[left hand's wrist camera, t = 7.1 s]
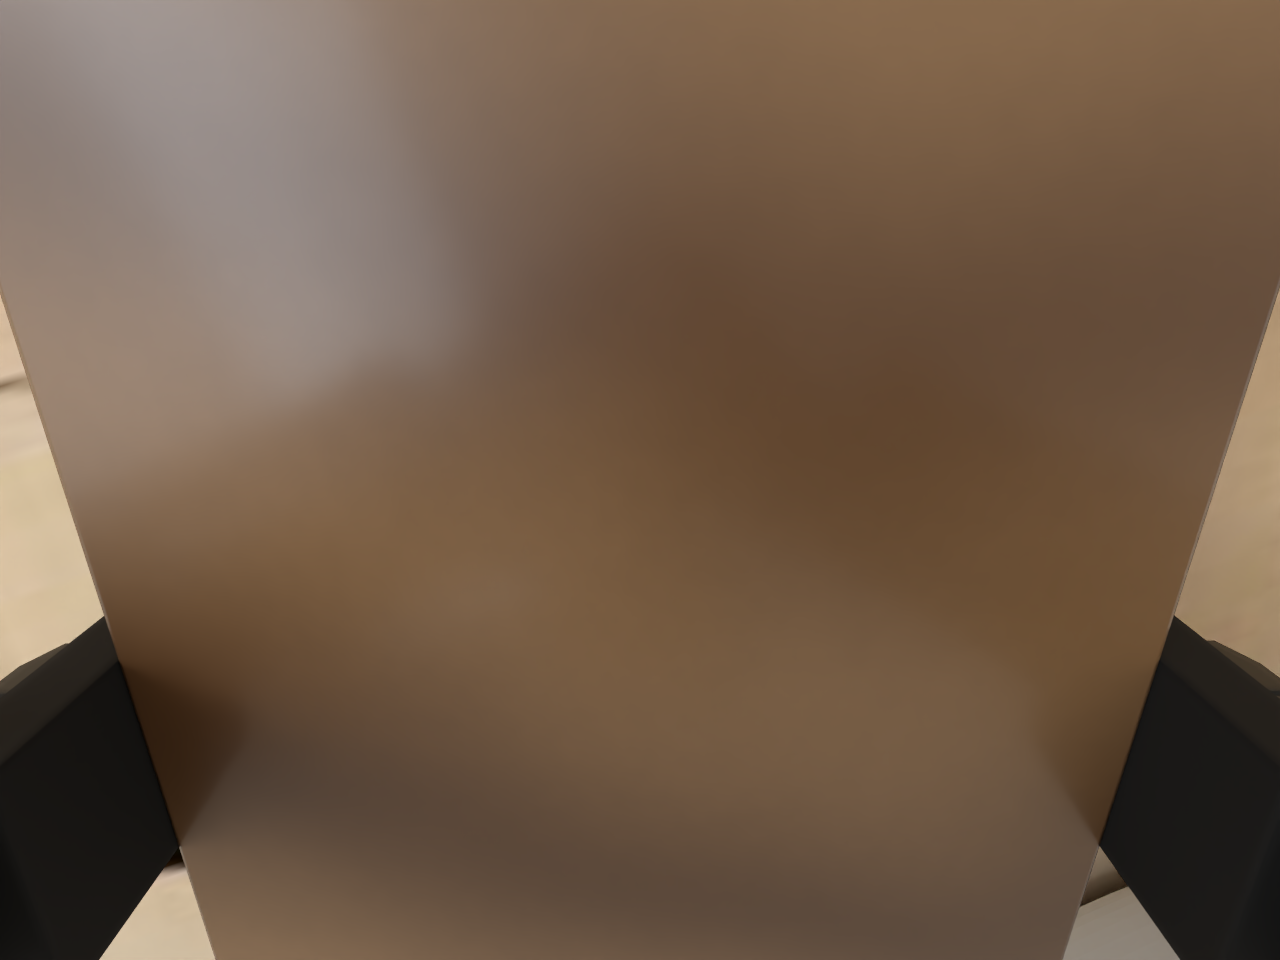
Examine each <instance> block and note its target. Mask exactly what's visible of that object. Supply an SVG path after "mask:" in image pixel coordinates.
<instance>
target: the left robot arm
mask: <svg viewBox="0 0 1280 960" xmlns="http://www.w3.org/2000/svg"><path fill="white" fill-rule="evenodd" d="M178 847H179V845H178V842H177V839H176V836H175V832H174V829H173V826H172V823H171V820H170V817H169V814H168V811H167V808H166V805H165V802H164V798H163V795H162V792H161V789H160V786H159V783H158V780H157V777H156V774H155V771H154V768H153V764H152V761H151V758H150V755H149V752H148V749H147V746H146V743H145V740H144V737H143V734H142V730H141V727H140V724H139V721H138V718H137V715H136V712H135V709H134V706H133V703H132V700H131V696H130V693H129V690H128V687H127V684H126V681H125V678H124V675H123V672H122V669H121V666H120V662H119V659H118V656H117V653H116V650H115V647H114V644H113V641H112V638H111V635H110V632H109V628H108V625H107V622H106V619H105V616H104V617H102V618H101V619H100V620H98V621H97V622H96V623H95V624H93V625H92V626H91V627H90V628H88V629H87V630H86V631H84V632H83V633H82V634H81V635H79V636H78V637H77V638H76V639H74V640H73V641H72V642H70V643H69V644H64V645H62V646H60V647H58V648H56V649H54V650H52V651H50V652H48V653H46V654H44V655H42V656H40V657H38V658H36V659H34V660H32V661H30V662H27V663H25V664H23V665H21V666H19V667H18V668H17V669H15V670H14V671H13V672H11V673H10V674H9V675H8V676H6V677H5V678H4V679H2V680H1V681H0V960H99V959H100V958H101V956H102V955H103V953H104V952H105V951H106V949H107V948H108V946H109V945H110V943H111V942H112V941H113V939H114V938H115V936H116V935H117V934H118V932H119V931H120V929H121V928H122V927H123V925H124V924H125V922H126V921H127V919H128V918H129V917H130V915H131V914H132V912H133V911H134V910H135V908H136V907H137V905H138V904H139V902H140V901H141V900H142V898H143V897H144V895H145V894H146V893H147V891H148V890H149V888H150V887H151V885H152V884H153V883H154V881H155V880H156V878H157V877H158V876H159V874H160V873H161V871H162V870H163V868H164V867H165V866H166V864H167V863H168V861H169V860H170V859H171V857H172V856H173V854H174V853H175V851H176V850H177V849H178ZM1100 847H1101V849H1102V850H1103V851H1104V853H1105V854H1106V856H1107V857H1108V858H1109V860H1110V861H1111V863H1112V864H1113V865H1114V867H1115V868H1116V870H1117V871H1118V873H1119V874H1120V875H1121V877H1122V878H1123V880H1124V881H1125V882H1126V884H1127V885H1128V887H1129V888H1130V890H1131V891H1132V892H1133V894H1134V895H1135V897H1136V898H1137V899H1138V901H1139V902H1140V904H1141V905H1142V907H1143V908H1144V909H1145V911H1146V912H1147V914H1148V915H1149V916H1150V918H1151V919H1152V921H1153V922H1154V924H1155V925H1156V926H1157V928H1158V929H1159V931H1160V932H1161V933H1162V935H1163V936H1164V938H1165V939H1166V941H1167V942H1168V943H1169V945H1170V946H1171V948H1172V949H1173V950H1174V952H1175V953H1176V955H1177V956H1178V958H1179V959H1180V960H1280V678H1279V677H1278V676H1276V675H1275V674H1274V673H1272V672H1271V671H1270V670H1268V669H1267V668H1266V667H1264V666H1263V665H1262V664H1260V663H1258V662H1256V661H1254V660H1252V659H1250V658H1248V657H1246V656H1244V655H1242V654H1240V653H1238V652H1236V651H1234V650H1232V649H1230V648H1228V647H1226V646H1224V645H1222V644H1220V643H1218V642H1216V641H1206V640H1205V639H1203V638H1202V637H1201V636H1200V635H1198V634H1197V633H1196V632H1195V631H1193V630H1192V629H1191V628H1189V627H1188V626H1187V625H1186V624H1184V623H1183V622H1182V621H1181V620H1179V619H1178V618H1177V617H1175V616H1173V620H1172V623H1171V626H1170V629H1169V632H1168V635H1167V638H1166V641H1165V644H1164V647H1163V650H1162V654H1161V657H1160V660H1159V663H1158V666H1157V669H1156V672H1155V675H1154V678H1153V681H1152V685H1151V688H1150V691H1149V694H1148V697H1147V700H1146V703H1145V706H1144V709H1143V712H1142V716H1141V719H1140V722H1139V725H1138V728H1137V731H1136V734H1135V737H1134V740H1133V743H1132V746H1131V750H1130V753H1129V756H1128V759H1127V762H1126V765H1125V768H1124V771H1123V774H1122V777H1121V781H1120V784H1119V787H1118V790H1117V793H1116V796H1115V799H1114V802H1113V805H1112V808H1111V812H1110V815H1109V818H1108V821H1107V824H1106V827H1105V830H1104V833H1103V836H1102V839H1101V842H1100Z"/></svg>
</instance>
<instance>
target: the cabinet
mask: <svg viewBox="0 0 1280 960" xmlns="http://www.w3.org/2000/svg"><path fill="white" fill-rule="evenodd" d="M1279 288H1280V0H0V295H1V298H2V301H3V304H4V307H5V310H6V313H7V316H8V319H9V323H10V326H11V329H12V332H13V335H14V338H15V341H16V344H17V347H18V350H19V353H20V357H21V360H22V363H23V366H24V369H25V372H26V375H27V378H28V381H29V384H30V387H31V391H32V394H33V397H34V400H35V403H36V406H37V409H38V412H39V415H40V418H41V421H42V424H43V428H44V431H45V434H46V437H47V440H48V443H49V446H50V449H51V452H52V455H53V458H54V462H55V465H56V468H57V471H58V474H59V477H60V480H61V483H62V486H63V489H64V492H65V496H66V499H67V502H68V505H69V508H70V511H71V514H72V517H73V520H74V523H75V526H76V530H77V533H78V536H79V539H80V542H81V545H82V548H83V551H84V554H85V557H86V560H87V564H88V567H89V570H90V573H91V576H92V579H93V582H94V585H95V588H96V591H97V594H98V598H99V601H100V604H101V607H102V610H103V613H104V616H105V619H106V622H107V625H108V628H109V632H110V635H111V638H112V641H113V644H114V647H115V650H116V653H117V656H118V659H119V662H120V666H121V669H122V672H123V675H124V678H125V681H126V684H127V687H128V690H129V693H130V696H131V700H132V703H133V706H134V709H135V712H136V715H137V718H138V721H139V724H140V727H141V730H142V734H143V737H144V740H145V743H146V746H147V749H148V752H149V755H150V758H151V761H152V764H153V768H154V771H155V774H156V777H157V780H158V783H159V786H160V789H161V792H162V795H163V798H164V802H165V805H166V808H167V811H168V814H169V817H170V820H171V823H172V826H173V829H174V832H175V836H176V839H177V842H178V845H179V848H180V851H181V854H182V857H183V860H184V863H185V866H186V869H187V873H188V876H189V879H190V882H191V885H192V888H193V891H194V894H195V897H196V900H197V903H198V907H199V910H200V913H201V916H202V919H203V922H204V925H205V928H206V931H207V934H208V937H209V941H210V944H211V947H212V950H213V953H214V956H215V959H216V960H1063V957H1064V954H1065V951H1066V948H1067V945H1068V942H1069V938H1070V935H1071V932H1072V929H1073V926H1074V923H1075V920H1076V917H1077V914H1078V911H1079V908H1080V904H1081V901H1082V898H1083V895H1084V892H1085V889H1086V886H1087V883H1088V880H1089V877H1090V873H1091V870H1092V867H1093V864H1094V861H1095V858H1096V855H1097V852H1098V849H1099V846H1100V842H1101V839H1102V836H1103V833H1104V830H1105V827H1106V824H1107V821H1108V818H1109V815H1110V812H1111V808H1112V805H1113V802H1114V799H1115V796H1116V793H1117V790H1118V787H1119V784H1120V781H1121V777H1122V774H1123V771H1124V768H1125V765H1126V762H1127V759H1128V756H1129V753H1130V750H1131V746H1132V743H1133V740H1134V737H1135V734H1136V731H1137V728H1138V725H1139V722H1140V719H1141V716H1142V712H1143V709H1144V706H1145V703H1146V700H1147V697H1148V694H1149V691H1150V688H1151V685H1152V681H1153V678H1154V675H1155V672H1156V669H1157V666H1158V663H1159V660H1160V657H1161V654H1162V650H1163V647H1164V644H1165V641H1166V638H1167V635H1168V632H1169V629H1170V626H1171V623H1172V620H1173V616H1174V613H1175V610H1176V607H1177V604H1178V601H1179V598H1180V595H1181V592H1182V589H1183V585H1184V582H1185V579H1186V576H1187V573H1188V570H1189V567H1190V564H1191V561H1192V558H1193V555H1194V551H1195V548H1196V545H1197V542H1198V539H1199V536H1200V533H1201V530H1202V527H1203V524H1204V520H1205V517H1206V514H1207V511H1208V508H1209V505H1210V502H1211V499H1212V496H1213V493H1214V489H1215V486H1216V483H1217V480H1218V477H1219V474H1220V471H1221V468H1222V465H1223V462H1224V459H1225V455H1226V452H1227V449H1228V446H1229V443H1230V440H1231V437H1232V434H1233V431H1234V428H1235V424H1236V421H1237V418H1238V415H1239V412H1240V409H1241V406H1242V403H1243V400H1244V397H1245V393H1246V390H1247V387H1248V384H1249V381H1250V378H1251V375H1252V372H1253V369H1254V366H1255V363H1256V359H1257V356H1258V353H1259V350H1260V347H1261V344H1262V341H1263V338H1264V335H1265V332H1266V328H1267V325H1268V322H1269V319H1270V316H1271V313H1272V310H1273V307H1274V304H1275V301H1276V297H1277V294H1278V291H1279Z"/></svg>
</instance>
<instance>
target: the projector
mask: <svg viewBox="0 0 1280 960" xmlns="http://www.w3.org/2000/svg"><path fill="white" fill-rule="evenodd" d="M1063 960H1180V959H1179V958H1178V956H1177V955H1176V953H1175V952H1174V950H1173V949H1172V948H1171V946H1170V945H1169V943H1168V942H1167V941H1166V939H1165V938H1164V936H1163V935H1162V933H1161V932H1160V931H1159V929H1158V928H1157V926H1156V925H1155V924H1154V922H1153V921H1152V919H1151V918H1150V916H1149V915H1148V914H1147V912H1146V911H1145V909H1144V908H1143V907H1142V905H1141V904H1140V902H1139V901H1138V899H1137V898H1136V897H1135V895H1134V894H1133V892H1132V891H1131V890H1130V888H1129V887H1126V888H1123V889H1120V890H1118V891H1115V892H1113V893H1110V894H1108V895H1106V896H1104V897H1101V898H1099V899H1097V900H1095V901H1092V902H1090V903H1088V904H1086V905H1083V906H1081V907H1080V908H1079V911H1078V914H1077V917H1076V920H1075V923H1074V926H1073V929H1072V932H1071V935H1070V938H1069V942H1068V945H1067V948H1066V951H1065V954H1064V957H1063Z"/></svg>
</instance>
